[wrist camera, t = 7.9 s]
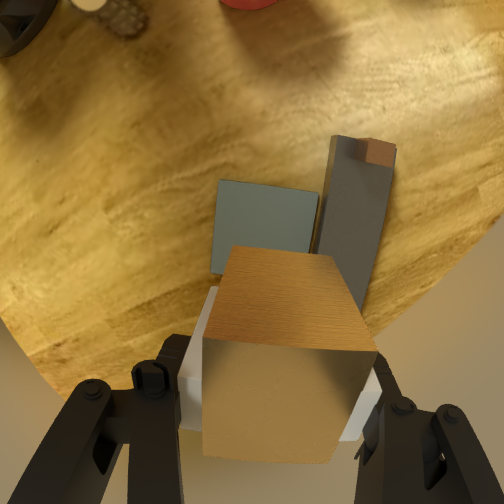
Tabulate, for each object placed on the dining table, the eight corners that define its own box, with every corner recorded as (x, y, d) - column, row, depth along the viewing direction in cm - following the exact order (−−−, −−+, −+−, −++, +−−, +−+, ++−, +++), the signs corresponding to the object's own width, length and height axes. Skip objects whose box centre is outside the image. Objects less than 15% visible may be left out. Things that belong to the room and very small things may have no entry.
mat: (211, 270, 35) (210, 272, 34) (219, 179, 31) (218, 180, 31) (301, 282, 35) (302, 285, 34) (317, 192, 31) (318, 193, 31)
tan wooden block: (310, 351, 18) (327, 463, 10) (225, 342, 18) (202, 455, 10) (331, 255, 16) (378, 351, 8) (232, 244, 16) (202, 337, 8)
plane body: (343, 333, 36) (356, 369, 30) (296, 328, 36) (300, 365, 30) (386, 147, 29) (414, 149, 23) (331, 135, 29) (348, 133, 23)
